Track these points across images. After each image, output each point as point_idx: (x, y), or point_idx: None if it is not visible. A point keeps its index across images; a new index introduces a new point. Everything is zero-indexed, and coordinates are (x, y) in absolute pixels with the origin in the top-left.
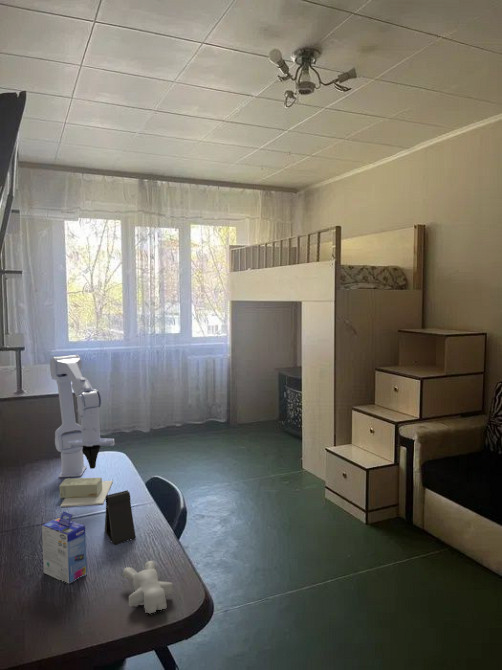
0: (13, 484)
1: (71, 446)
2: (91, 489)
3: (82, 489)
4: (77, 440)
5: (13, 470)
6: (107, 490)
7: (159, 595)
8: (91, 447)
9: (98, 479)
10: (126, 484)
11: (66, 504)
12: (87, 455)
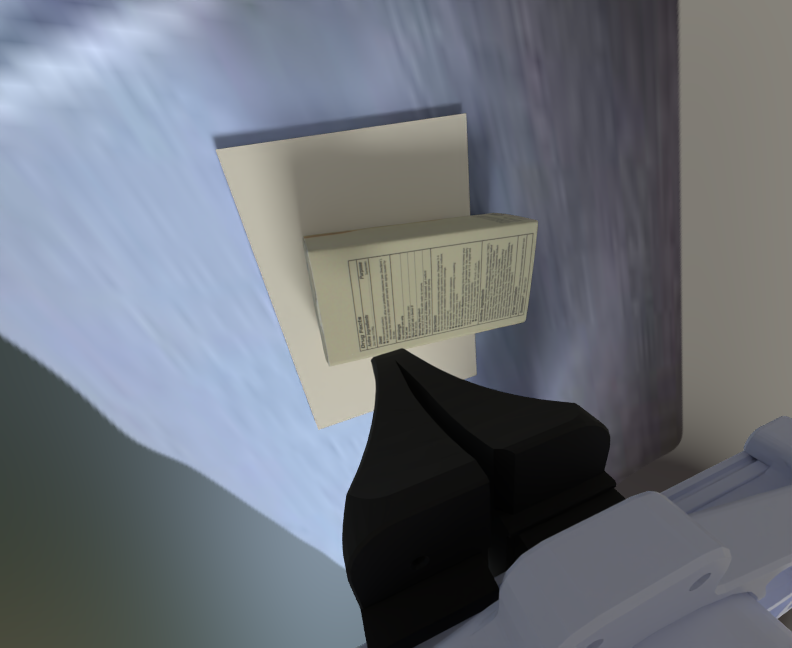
0: (662, 335)
1: (785, 452)
2: (339, 239)
3: (396, 231)
4: (790, 606)
5: (665, 420)
6: (286, 327)
7: None
8: (496, 555)
9: (334, 335)
10: (228, 418)
11: (438, 127)
12: (482, 403)
